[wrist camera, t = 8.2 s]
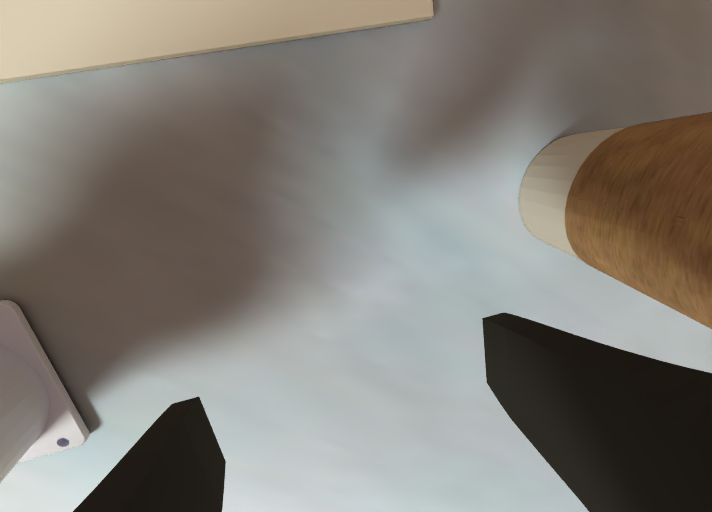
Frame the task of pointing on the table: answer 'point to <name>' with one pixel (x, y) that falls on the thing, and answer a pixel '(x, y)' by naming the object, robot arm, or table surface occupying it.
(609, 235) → the coffee cup
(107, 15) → the mat
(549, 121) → the table surface
